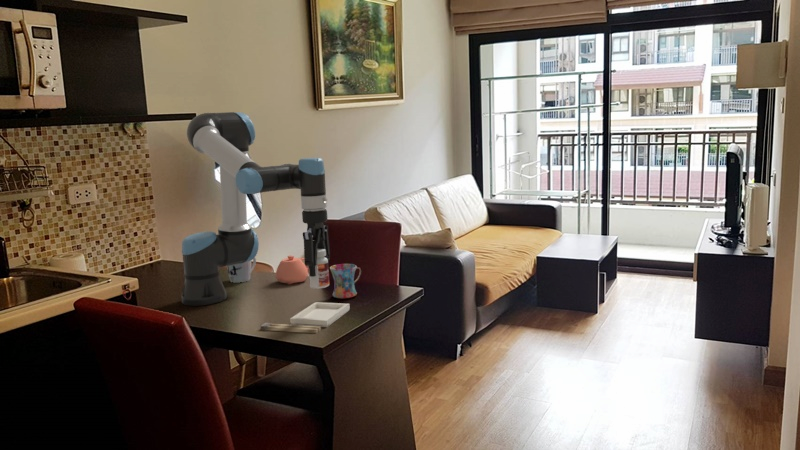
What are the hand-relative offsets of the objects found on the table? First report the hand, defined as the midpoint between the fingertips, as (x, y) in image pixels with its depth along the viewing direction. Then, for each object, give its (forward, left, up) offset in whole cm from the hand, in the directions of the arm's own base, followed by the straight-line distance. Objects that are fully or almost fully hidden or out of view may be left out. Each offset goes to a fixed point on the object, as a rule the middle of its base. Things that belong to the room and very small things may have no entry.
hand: (319, 283), depth 199 cm
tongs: (-4, -13, -11) cm, 17 cm away
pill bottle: (0, 0, -1) cm, 1 cm away
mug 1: (-52, +42, -11) cm, 68 cm away
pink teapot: (-30, +42, -11) cm, 53 cm away
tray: (0, 0, -11) cm, 11 cm away
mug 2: (-1, +25, -11) cm, 27 cm away
